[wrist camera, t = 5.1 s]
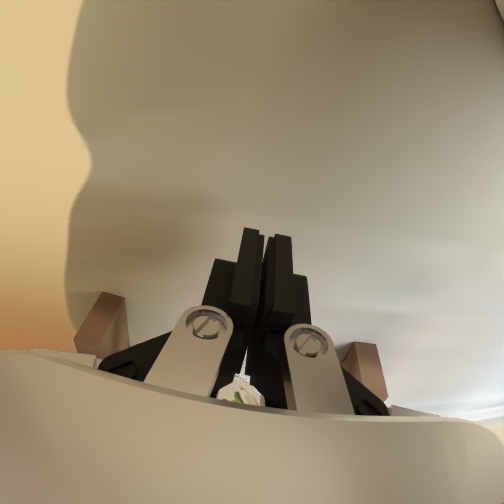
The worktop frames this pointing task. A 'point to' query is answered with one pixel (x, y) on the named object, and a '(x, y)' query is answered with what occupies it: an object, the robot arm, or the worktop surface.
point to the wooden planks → (116, 339)
